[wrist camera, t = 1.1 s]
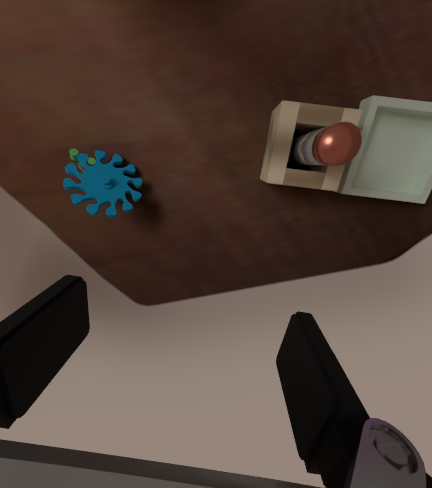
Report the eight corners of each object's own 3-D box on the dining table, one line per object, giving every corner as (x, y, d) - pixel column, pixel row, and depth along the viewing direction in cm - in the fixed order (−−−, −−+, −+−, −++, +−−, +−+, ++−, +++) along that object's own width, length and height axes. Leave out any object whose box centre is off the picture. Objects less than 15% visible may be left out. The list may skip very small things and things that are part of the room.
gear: (157, 190, 33) (98, 228, 28) (150, 206, 38) (100, 239, 33) (106, 131, 31) (35, 160, 27) (106, 155, 37) (47, 183, 32)
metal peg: (286, 135, 31) (326, 119, 19) (311, 138, 31) (368, 124, 19) (281, 162, 32) (314, 163, 20) (305, 165, 32) (353, 168, 20)
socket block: (272, 111, 30) (282, 100, 24) (336, 119, 30) (362, 110, 24) (259, 179, 33) (266, 182, 27) (318, 186, 33) (337, 191, 27)
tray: (361, 100, 29) (373, 95, 26) (450, 111, 29) (469, 107, 26) (333, 191, 33) (341, 193, 31) (410, 200, 33) (424, 203, 31)
